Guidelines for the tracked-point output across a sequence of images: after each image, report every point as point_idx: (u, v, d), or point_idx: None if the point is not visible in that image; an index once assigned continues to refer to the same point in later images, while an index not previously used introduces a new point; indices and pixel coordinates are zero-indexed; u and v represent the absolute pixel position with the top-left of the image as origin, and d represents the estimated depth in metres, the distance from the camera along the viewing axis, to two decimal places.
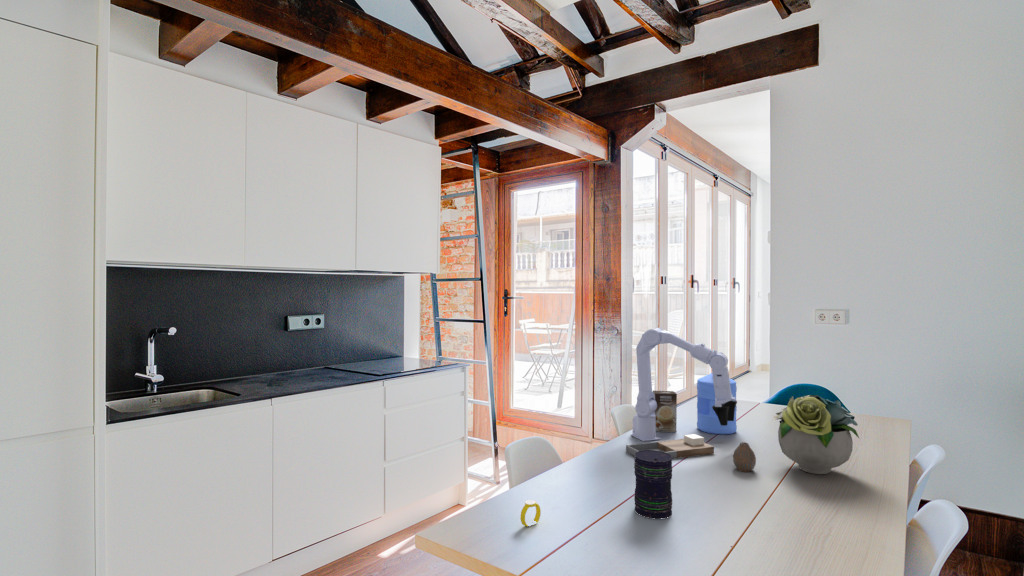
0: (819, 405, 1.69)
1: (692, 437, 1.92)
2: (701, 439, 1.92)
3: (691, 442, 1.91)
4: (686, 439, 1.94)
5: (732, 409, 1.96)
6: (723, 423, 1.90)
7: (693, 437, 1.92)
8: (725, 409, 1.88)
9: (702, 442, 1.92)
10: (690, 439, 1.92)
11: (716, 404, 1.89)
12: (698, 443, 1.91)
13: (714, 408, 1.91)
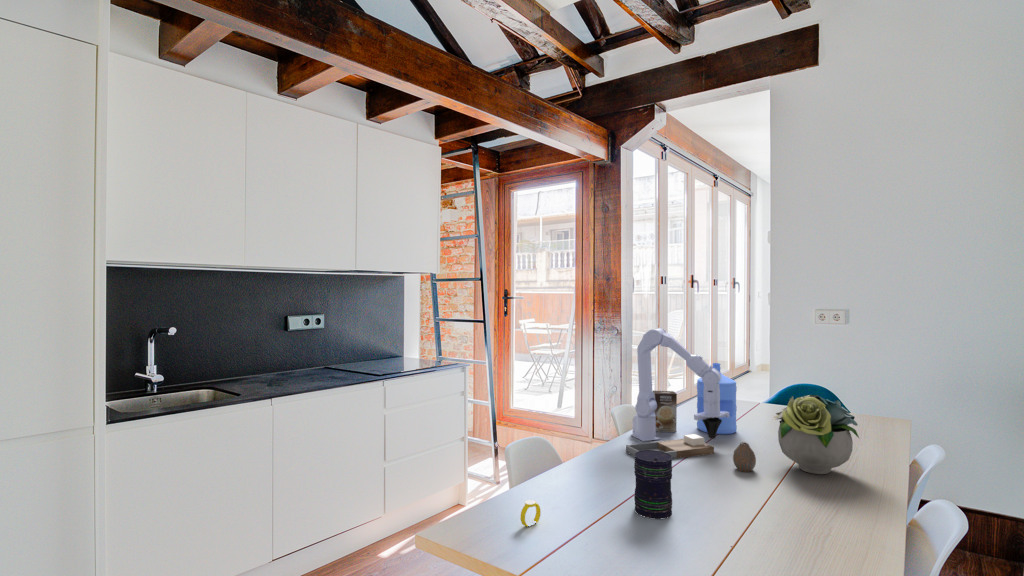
0: (819, 405, 1.69)
1: (692, 437, 1.92)
2: (701, 439, 1.92)
3: (691, 442, 1.91)
4: (686, 439, 1.94)
5: None
6: (710, 435, 1.96)
7: (693, 437, 1.92)
8: (710, 423, 1.94)
9: (702, 442, 1.92)
10: (690, 439, 1.92)
11: (694, 417, 1.94)
12: (698, 443, 1.91)
13: (703, 420, 1.97)
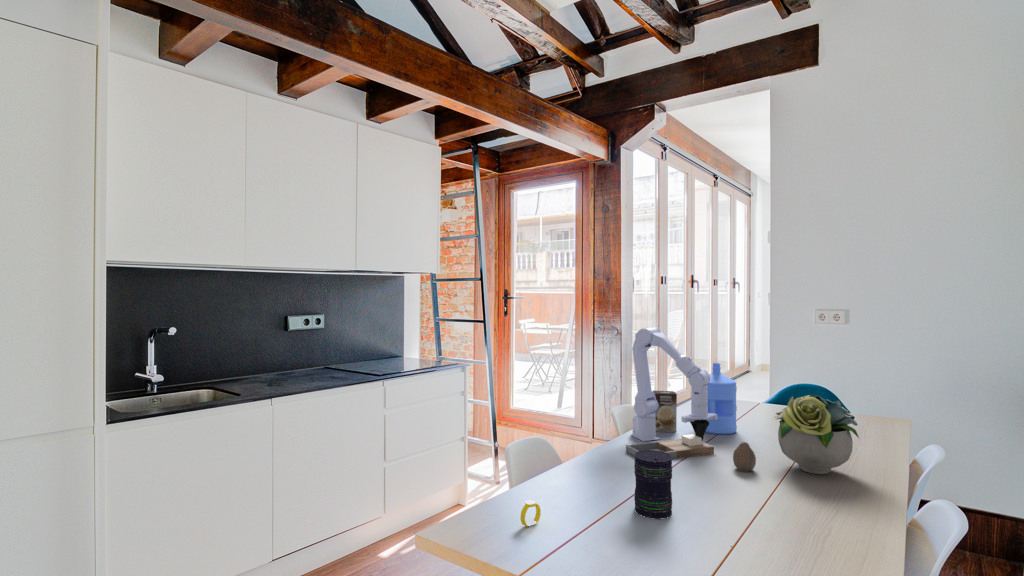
0: (819, 405, 1.69)
1: (690, 437, 1.92)
2: (699, 439, 1.92)
3: (689, 442, 1.91)
4: (684, 439, 1.93)
5: None
6: None
7: (690, 437, 1.92)
8: (697, 425, 1.92)
9: (700, 442, 1.92)
10: (688, 439, 1.91)
11: (682, 419, 1.93)
12: (696, 443, 1.91)
13: (690, 422, 1.96)
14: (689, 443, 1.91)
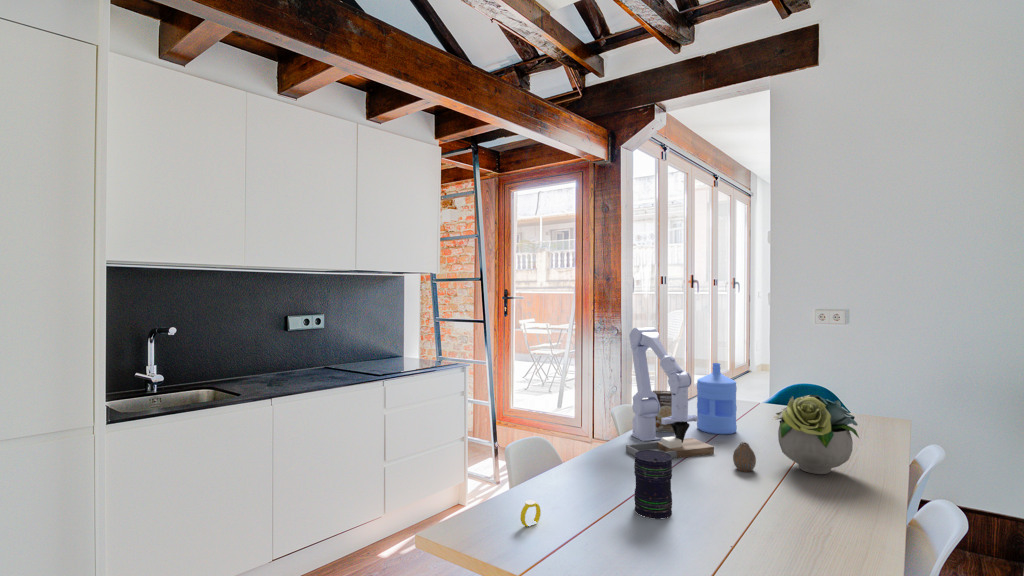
0: (819, 405, 1.69)
1: (669, 440, 1.89)
2: (678, 442, 1.89)
3: (668, 445, 1.88)
4: (664, 441, 1.91)
5: None
6: None
7: (670, 440, 1.89)
8: (677, 427, 1.89)
9: (680, 445, 1.89)
10: (667, 442, 1.89)
11: (662, 421, 1.90)
12: (675, 446, 1.88)
13: (670, 424, 1.93)
14: (669, 445, 1.88)
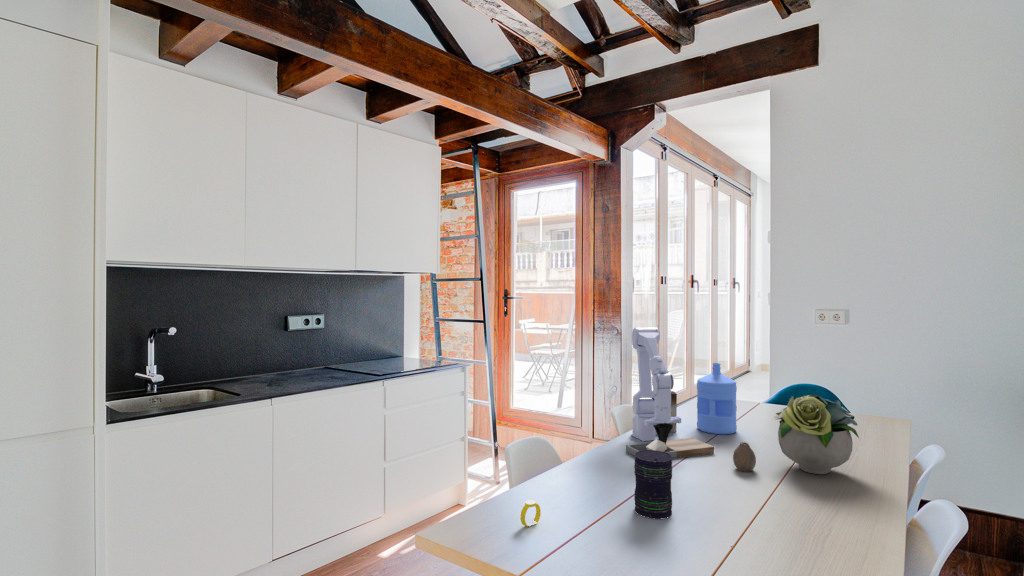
0: (819, 405, 1.69)
1: (653, 447, 1.86)
2: (662, 445, 1.86)
3: None
4: None
5: (665, 433, 1.88)
6: None
7: (654, 447, 1.86)
8: (660, 429, 1.87)
9: (665, 447, 1.86)
10: None
11: (644, 423, 1.88)
12: (661, 451, 1.86)
13: (653, 425, 1.90)
14: None
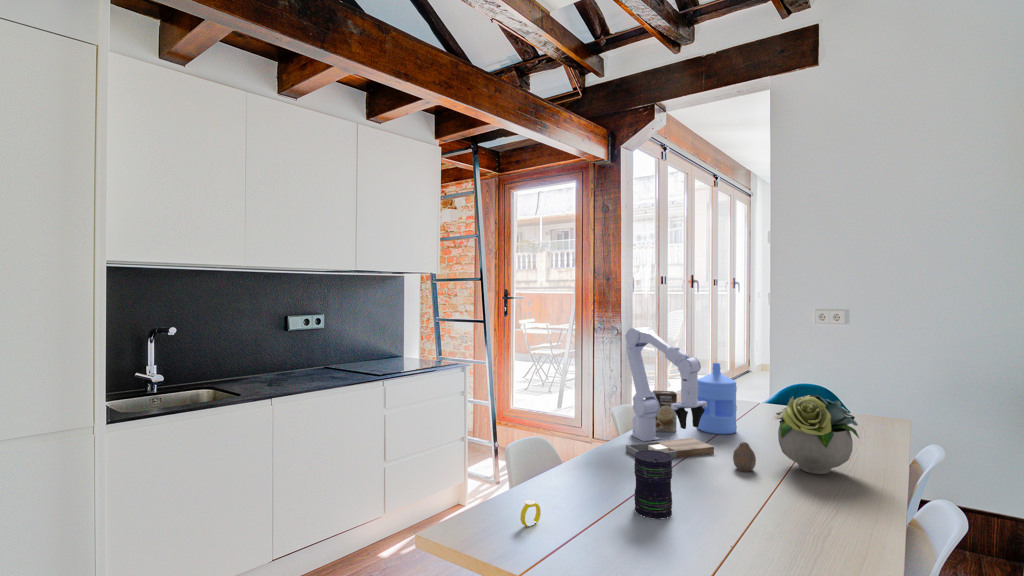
0: (819, 405, 1.69)
1: (656, 447, 1.87)
2: (666, 449, 1.86)
3: None
4: (651, 449, 1.88)
5: (697, 416, 1.93)
6: (682, 426, 1.92)
7: (657, 448, 1.87)
8: (681, 413, 1.90)
9: None
10: None
11: (671, 406, 1.91)
12: None
13: (675, 410, 1.93)
14: None
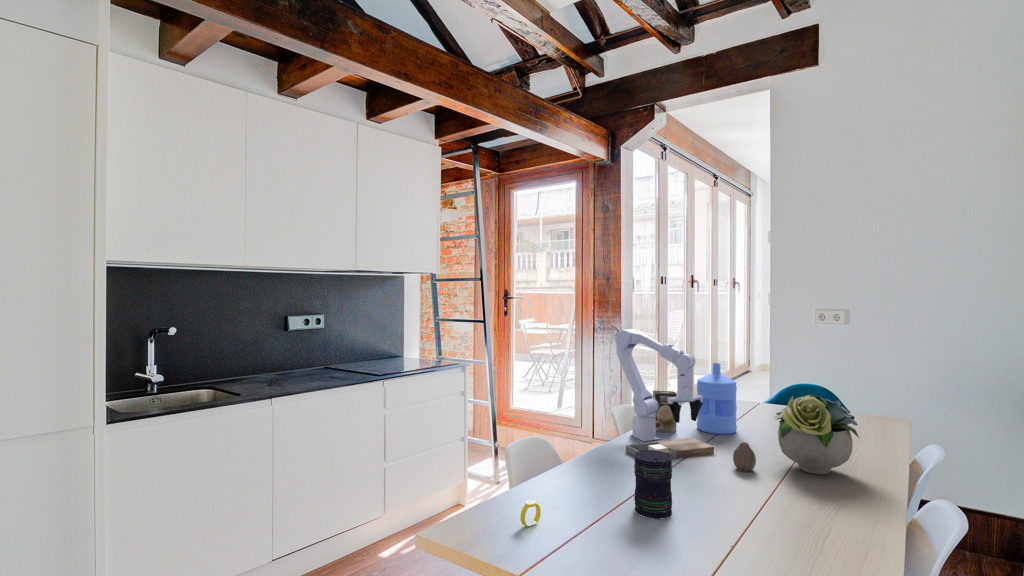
0: (819, 405, 1.69)
1: (656, 447, 1.87)
2: (666, 449, 1.86)
3: None
4: (651, 449, 1.88)
5: (695, 410, 1.99)
6: (676, 419, 1.97)
7: (657, 448, 1.87)
8: (675, 407, 1.95)
9: None
10: None
11: (668, 400, 1.97)
12: None
13: (668, 404, 1.98)
14: None
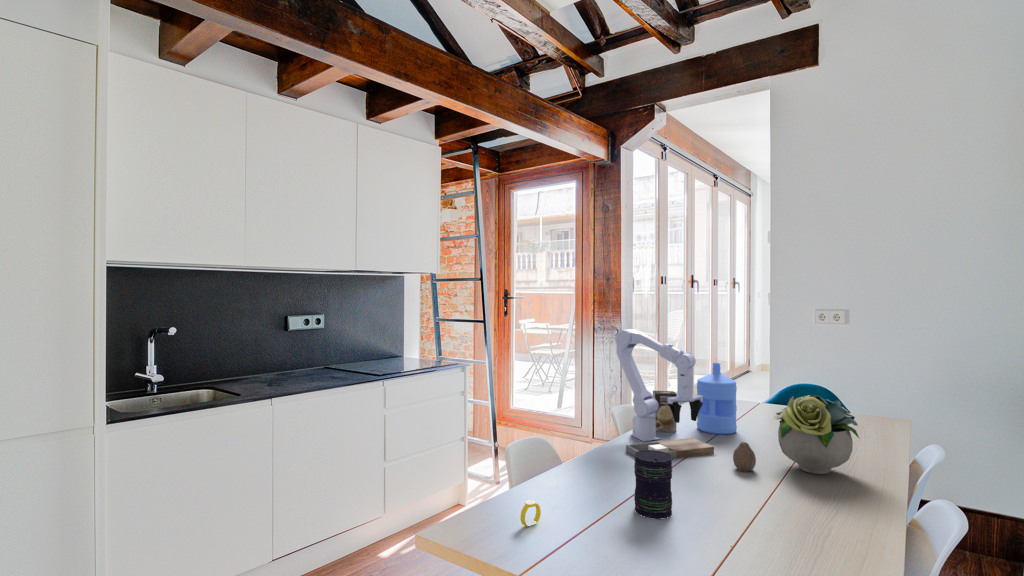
0: (819, 405, 1.69)
1: (656, 447, 1.87)
2: (666, 449, 1.86)
3: None
4: (651, 449, 1.88)
5: (695, 410, 1.99)
6: (676, 419, 1.97)
7: (657, 448, 1.87)
8: (675, 407, 1.95)
9: None
10: None
11: (668, 400, 1.97)
12: None
13: (668, 404, 1.98)
14: None
